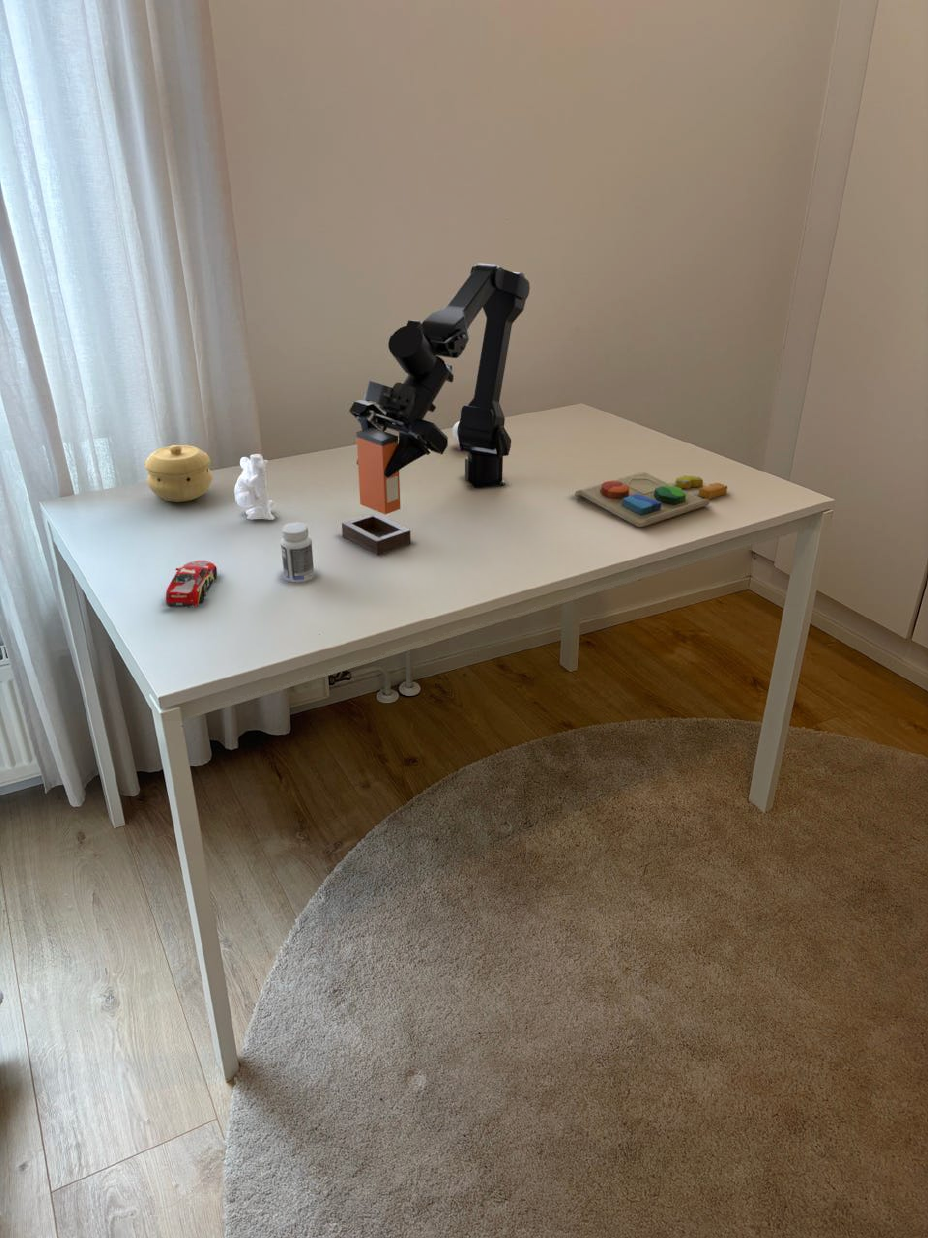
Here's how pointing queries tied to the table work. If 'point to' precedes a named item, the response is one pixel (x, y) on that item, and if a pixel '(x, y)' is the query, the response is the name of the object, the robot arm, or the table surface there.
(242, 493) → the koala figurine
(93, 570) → the table surface
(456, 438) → the stress ball
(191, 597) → the race car
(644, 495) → the shape puzzle
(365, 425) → the robot arm
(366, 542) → the slot
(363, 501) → the box
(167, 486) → the pot
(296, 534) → the pill bottle
